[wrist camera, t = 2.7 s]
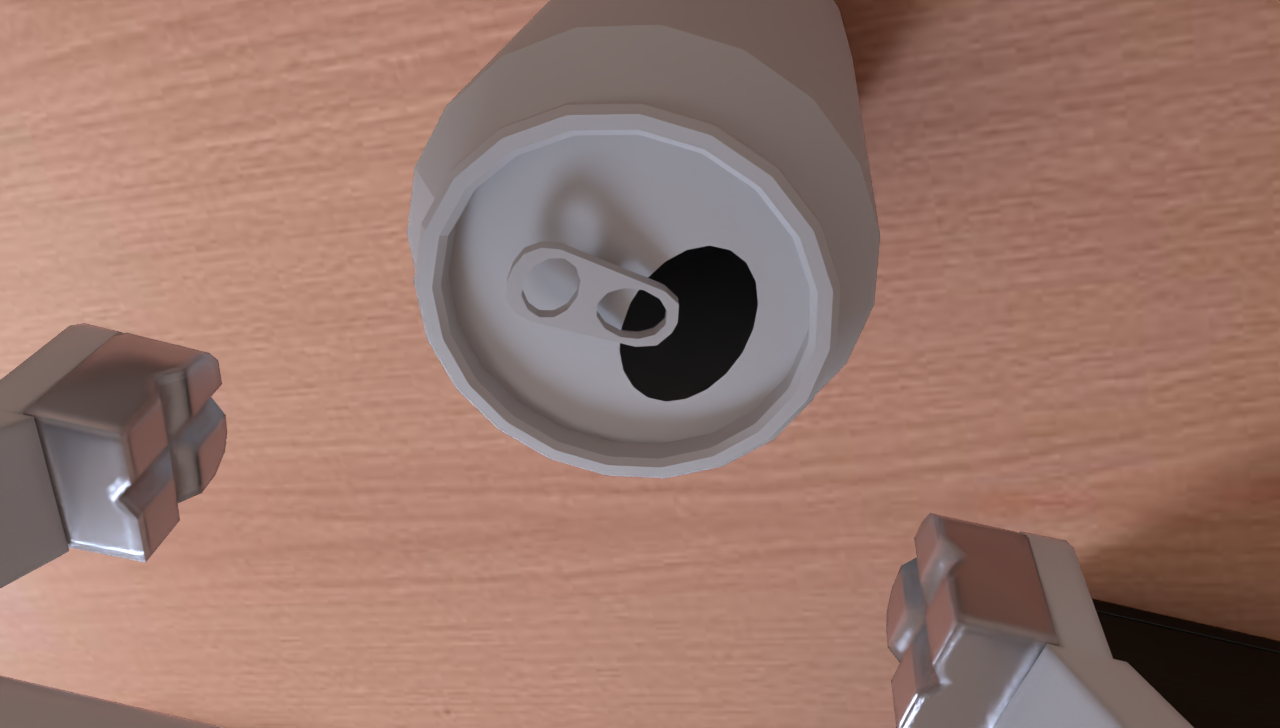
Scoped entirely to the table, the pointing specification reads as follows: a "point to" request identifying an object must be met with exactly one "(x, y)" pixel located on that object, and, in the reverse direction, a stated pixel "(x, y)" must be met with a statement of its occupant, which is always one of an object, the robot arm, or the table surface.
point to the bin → (1199, 667)
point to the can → (649, 229)
